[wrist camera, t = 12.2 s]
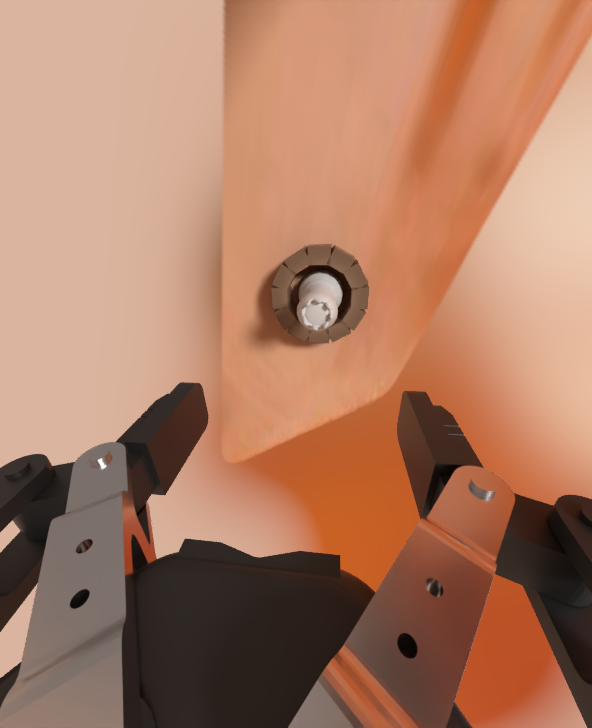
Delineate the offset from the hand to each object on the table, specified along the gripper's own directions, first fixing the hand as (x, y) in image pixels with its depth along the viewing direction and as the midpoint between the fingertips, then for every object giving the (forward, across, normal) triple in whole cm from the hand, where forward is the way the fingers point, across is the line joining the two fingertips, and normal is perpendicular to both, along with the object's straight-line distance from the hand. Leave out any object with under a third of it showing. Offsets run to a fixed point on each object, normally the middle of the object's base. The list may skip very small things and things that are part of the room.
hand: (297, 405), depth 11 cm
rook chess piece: (+20, 0, 0) cm, 20 cm away
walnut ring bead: (+20, 0, 0) cm, 20 cm away
